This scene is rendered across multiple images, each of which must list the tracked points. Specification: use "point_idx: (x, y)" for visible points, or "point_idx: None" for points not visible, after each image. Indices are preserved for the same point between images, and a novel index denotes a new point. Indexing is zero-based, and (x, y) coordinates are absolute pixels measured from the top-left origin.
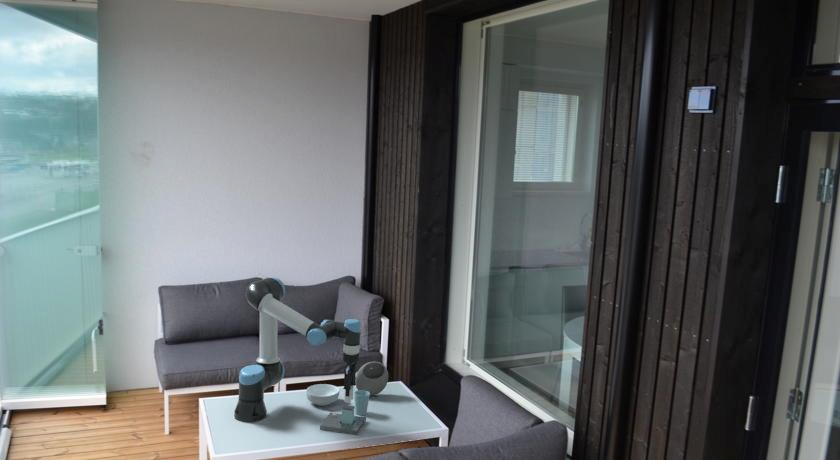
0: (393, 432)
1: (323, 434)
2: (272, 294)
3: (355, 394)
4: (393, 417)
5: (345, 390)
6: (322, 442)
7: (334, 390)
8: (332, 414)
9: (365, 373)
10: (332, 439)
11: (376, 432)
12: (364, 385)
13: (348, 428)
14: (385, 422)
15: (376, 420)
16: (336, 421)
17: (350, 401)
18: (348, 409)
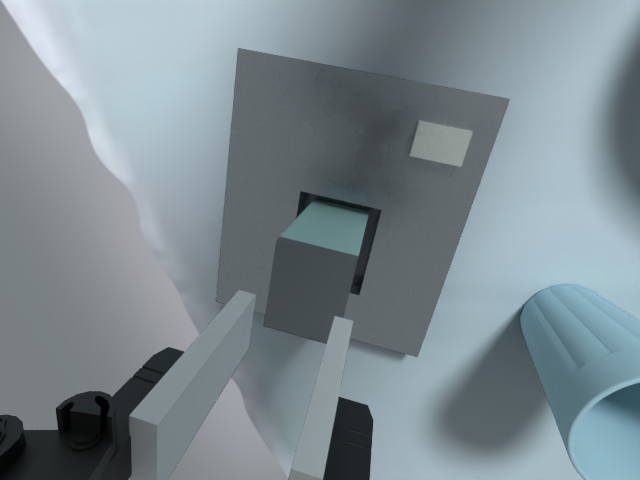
0: (291, 446)
1: (185, 94)
2: None
3: (627, 381)
4: (482, 474)
5: (149, 396)
6: (86, 105)
7: None
8: (429, 127)
9: None
10: (139, 160)
11: (277, 379)
12: None
13: (234, 253)
14: (409, 431)
15: (435, 394)
16: (327, 169)
17: (242, 353)
18: (268, 294)
